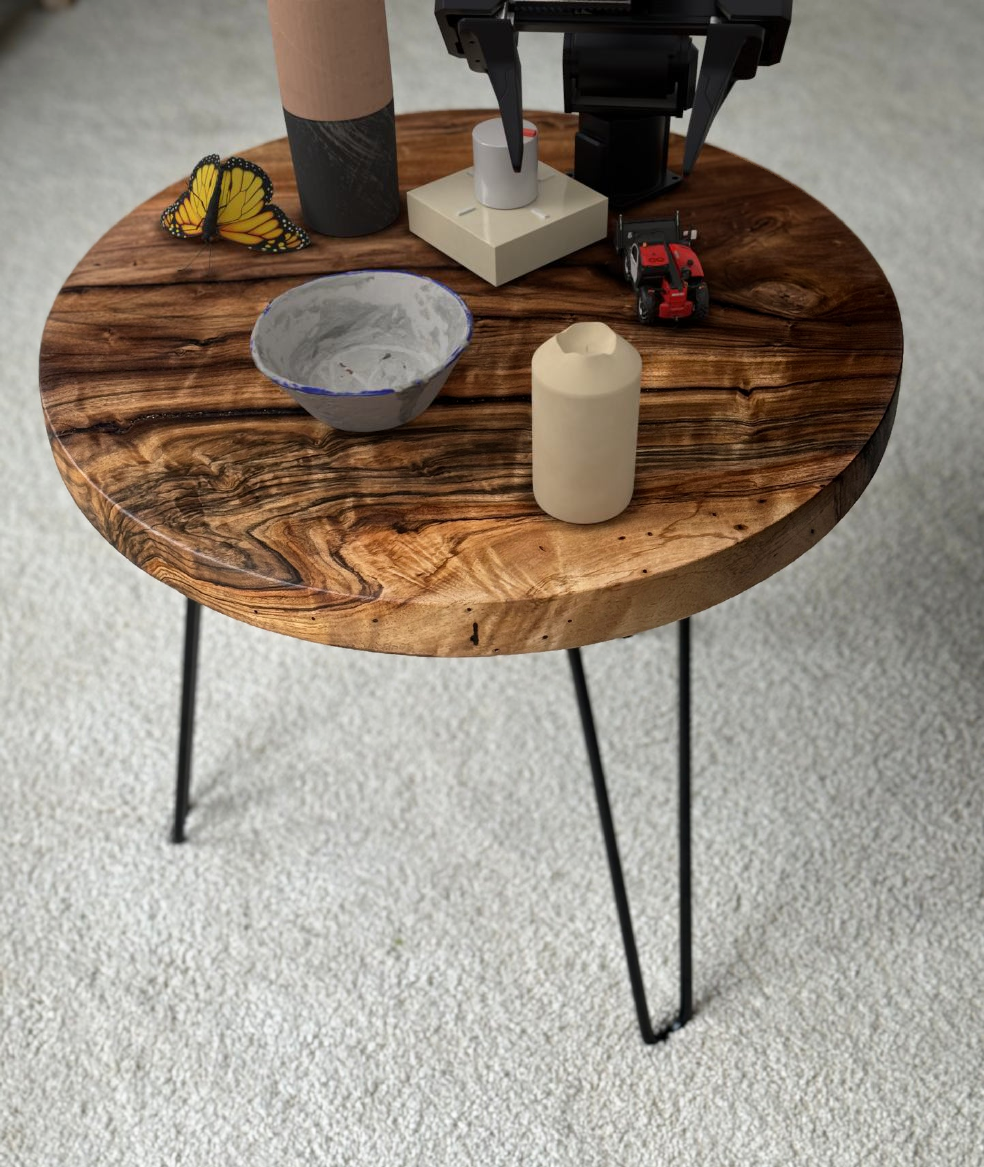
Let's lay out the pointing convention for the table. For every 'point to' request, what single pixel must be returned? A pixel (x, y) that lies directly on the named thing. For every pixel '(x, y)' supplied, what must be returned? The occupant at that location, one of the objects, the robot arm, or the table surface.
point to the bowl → (363, 345)
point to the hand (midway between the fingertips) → (600, 173)
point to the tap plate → (507, 223)
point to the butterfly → (232, 208)
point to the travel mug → (338, 111)
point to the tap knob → (504, 166)
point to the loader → (661, 268)
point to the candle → (585, 423)
